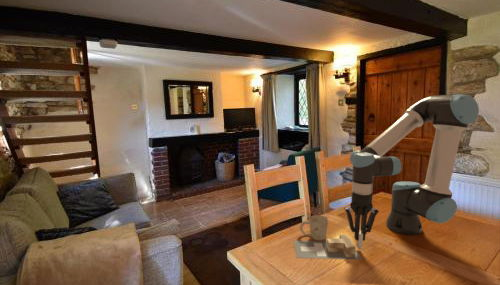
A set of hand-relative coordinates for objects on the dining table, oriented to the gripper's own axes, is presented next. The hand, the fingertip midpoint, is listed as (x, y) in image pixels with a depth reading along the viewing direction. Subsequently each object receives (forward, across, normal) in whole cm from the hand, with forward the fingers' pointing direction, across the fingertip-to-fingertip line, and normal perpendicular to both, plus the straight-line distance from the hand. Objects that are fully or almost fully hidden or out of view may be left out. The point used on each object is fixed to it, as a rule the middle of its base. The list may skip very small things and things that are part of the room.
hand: (359, 247), depth 105 cm
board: (+3, +14, 0) cm, 14 cm away
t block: (+1, +8, 0) cm, 8 cm away
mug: (+3, +17, -11) cm, 20 cm away
